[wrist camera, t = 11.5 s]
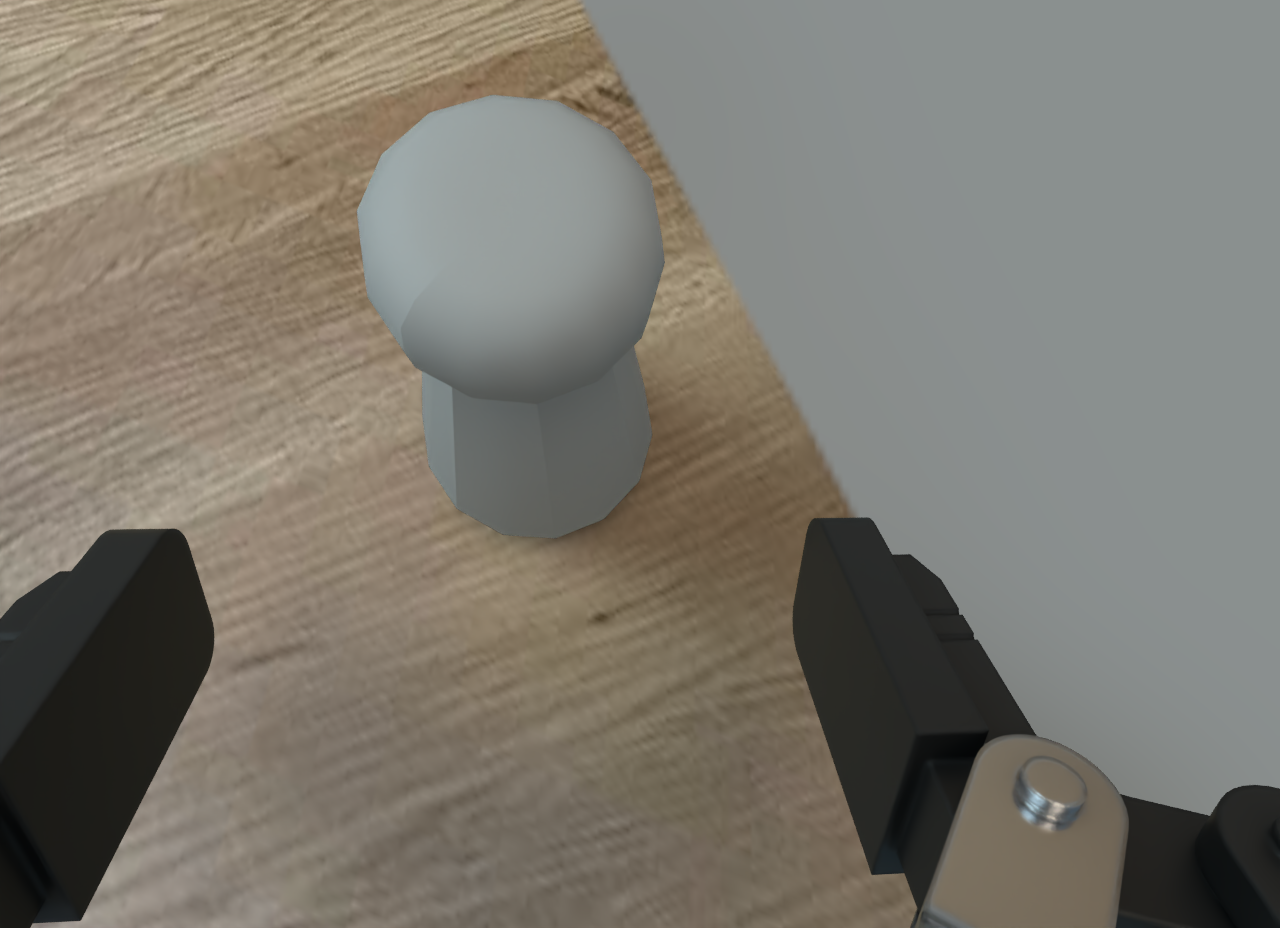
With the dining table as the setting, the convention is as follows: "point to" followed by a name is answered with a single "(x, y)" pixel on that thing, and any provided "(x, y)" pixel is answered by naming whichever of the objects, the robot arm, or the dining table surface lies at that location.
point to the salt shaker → (519, 305)
